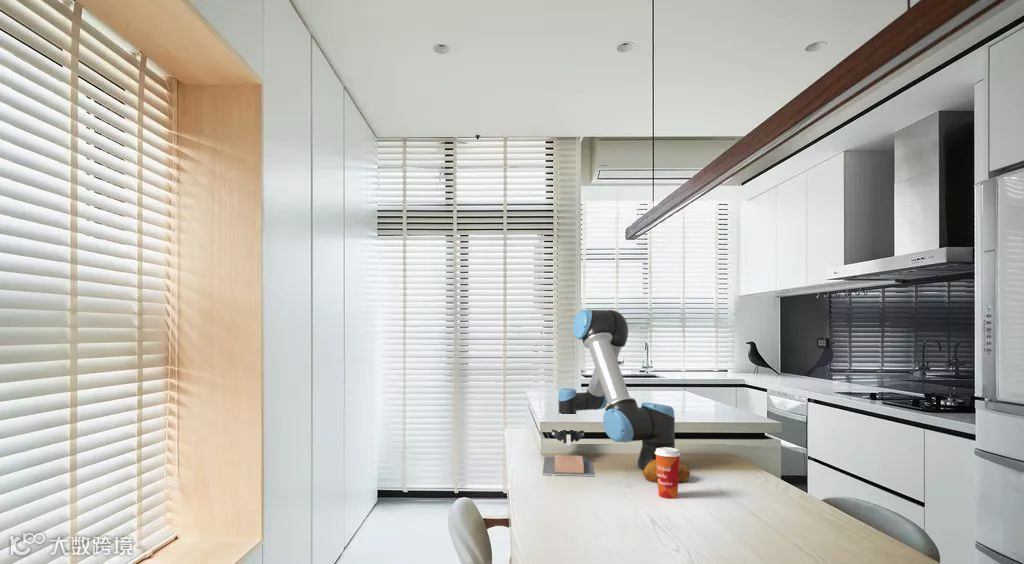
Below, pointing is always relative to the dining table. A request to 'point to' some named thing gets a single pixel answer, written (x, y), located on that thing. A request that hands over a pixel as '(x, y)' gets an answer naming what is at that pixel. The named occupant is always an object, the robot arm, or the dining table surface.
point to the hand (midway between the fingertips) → (568, 441)
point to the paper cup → (667, 471)
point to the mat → (550, 469)
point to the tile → (568, 464)
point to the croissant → (651, 472)
